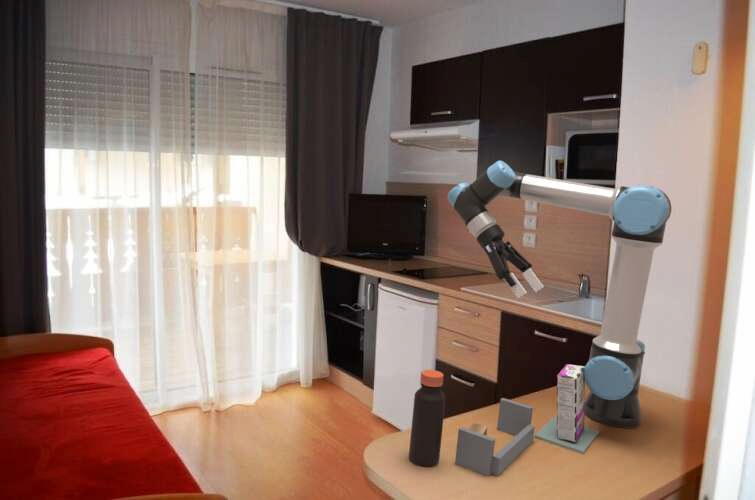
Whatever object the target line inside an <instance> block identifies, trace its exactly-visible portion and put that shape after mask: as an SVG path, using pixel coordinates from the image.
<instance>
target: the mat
mask: <svg viewBox="0 0 755 500" xmlns="http://www.w3.org/2000/svg"><path fill="white" fill-rule="evenodd" d="M599 433H600V431H599V430H597V429H593V428H589V427H587V426H585V427H584V429H583V430H582V432H581V434H580V436H579V438H578V439H577V441H576V442H572V441H566V440H561V439H557V417H555V416H553V417H552V418H551V419H549V421H548V422H546V424H545V425H543V426H542V427H541V428H540V429H539V430H538V431H537V432H536V433H534V439H535V438H536V439H538V440H540V441H541V440H542V441H544V442H547V443H550V444H553V445H555V446H558V447H561V448H562V447H563V448H565V449H568V450H570V451H574V452H577V453H580V454H582V455H583V454H584V453H585V452H586V451H587V450H588V449H589V447H590V446H591V445H592V443H593V442H594V440H595V439H596V438H597V436H598V435H599Z"/></svg>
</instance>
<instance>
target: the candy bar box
mask: <svg viewBox="0 0 755 500" xmlns="http://www.w3.org/2000/svg"><path fill="white" fill-rule="evenodd" d="M585 366H586V365H584V366H583V365H577V364H569V363H568V364H567V363H566V364H565V366H564V367H563V368H562V369H561V370H560V372H559V373H558V374H557V375H556V383H557V384H556V412H557V413H556V416H557V417H556V418H557V439H561V440H566V441H572V442H576V441H577V439H578V438H579V436H580V434H581V432H582V430H583V429H584V427H586V426H585V413H584V407H585V400H586V397H585V391H586V389H585V387H586V385H585V384H586V382H585V379H584V369H585Z"/></svg>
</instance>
